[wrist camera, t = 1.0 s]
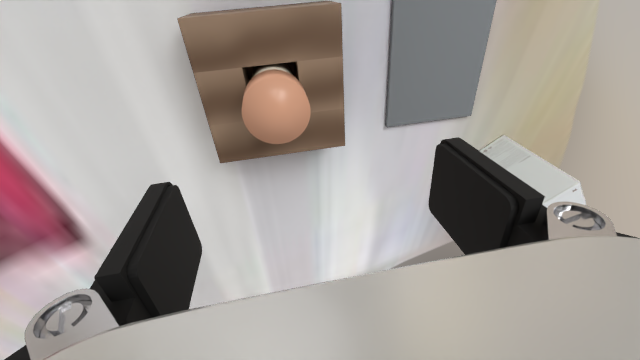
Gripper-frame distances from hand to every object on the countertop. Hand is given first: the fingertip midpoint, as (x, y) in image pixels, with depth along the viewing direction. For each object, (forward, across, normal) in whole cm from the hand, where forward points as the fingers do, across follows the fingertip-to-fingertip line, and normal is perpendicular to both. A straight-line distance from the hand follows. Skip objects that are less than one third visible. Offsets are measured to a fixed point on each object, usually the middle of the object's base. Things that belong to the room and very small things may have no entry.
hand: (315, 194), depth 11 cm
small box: (+28, -31, +18) cm, 45 cm away
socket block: (+27, +1, +1) cm, 27 cm away
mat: (+27, -19, +1) cm, 33 cm away
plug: (+26, +1, +1) cm, 26 cm away
